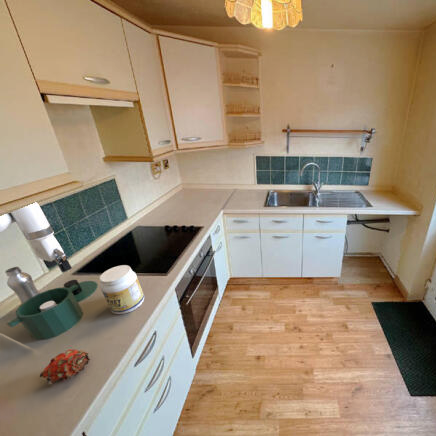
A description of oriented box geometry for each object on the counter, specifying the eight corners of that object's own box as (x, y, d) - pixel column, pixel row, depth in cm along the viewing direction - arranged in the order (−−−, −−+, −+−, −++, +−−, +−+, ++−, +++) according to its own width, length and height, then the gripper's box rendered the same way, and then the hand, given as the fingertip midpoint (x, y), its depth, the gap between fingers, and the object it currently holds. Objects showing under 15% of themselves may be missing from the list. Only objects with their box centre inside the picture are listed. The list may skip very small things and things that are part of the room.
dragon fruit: (98, 368, 75) (54, 388, 71) (96, 342, 78) (53, 359, 74) (80, 371, 67) (30, 394, 64) (78, 342, 71) (30, 361, 67)
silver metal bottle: (21, 313, 94) (-7, 275, 86) (37, 301, 100) (12, 264, 92) (37, 313, 94) (11, 274, 86) (52, 301, 100) (29, 264, 92)
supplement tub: (104, 314, 93) (87, 282, 86) (126, 293, 104) (113, 262, 97) (131, 316, 92) (117, 284, 84) (151, 295, 103) (140, 264, 95)
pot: (14, 340, 83) (-5, 317, 78) (76, 301, 100) (63, 279, 95) (38, 352, 79) (20, 328, 73) (99, 309, 96) (87, 287, 91)
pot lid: (44, 302, 100) (37, 291, 97) (84, 279, 113) (78, 269, 110) (68, 311, 95) (60, 299, 92) (106, 286, 108) (100, 275, 106)
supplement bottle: (45, 329, 86) (32, 310, 82) (57, 317, 91) (45, 299, 87) (60, 328, 87) (48, 309, 83) (71, 316, 92) (60, 298, 88)
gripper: (13, 234, 88) (36, 269, 95) (40, 240, 82) (62, 278, 90) (38, 225, 94) (57, 259, 102) (64, 231, 89) (83, 266, 96)
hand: (59, 268), depth 96 cm, fingers open, 9 cm apart
